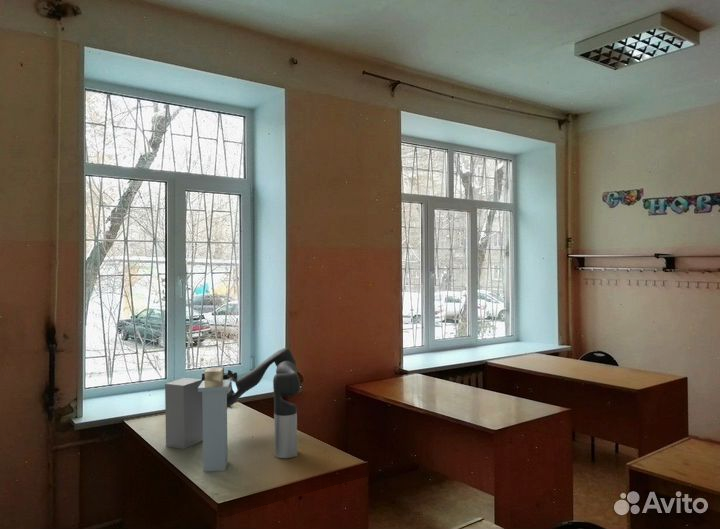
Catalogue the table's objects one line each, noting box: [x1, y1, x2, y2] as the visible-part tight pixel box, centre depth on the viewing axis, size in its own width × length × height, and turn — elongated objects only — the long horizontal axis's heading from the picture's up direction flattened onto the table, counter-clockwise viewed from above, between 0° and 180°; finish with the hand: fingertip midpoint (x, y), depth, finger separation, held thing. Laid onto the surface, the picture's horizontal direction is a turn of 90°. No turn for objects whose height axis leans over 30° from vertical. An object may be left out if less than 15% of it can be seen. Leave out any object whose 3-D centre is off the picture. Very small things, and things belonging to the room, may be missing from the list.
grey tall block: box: [164, 377, 203, 450], centre depth 230 cm, size 12×10×27 cm
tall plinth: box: [198, 380, 232, 472], centre depth 205 cm, size 11×12×32 cm
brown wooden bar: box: [204, 366, 225, 388], centre depth 210 cm, size 6×22×6 cm, turn 8°
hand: (218, 372), depth 215 cm, fingers open, 8 cm apart
